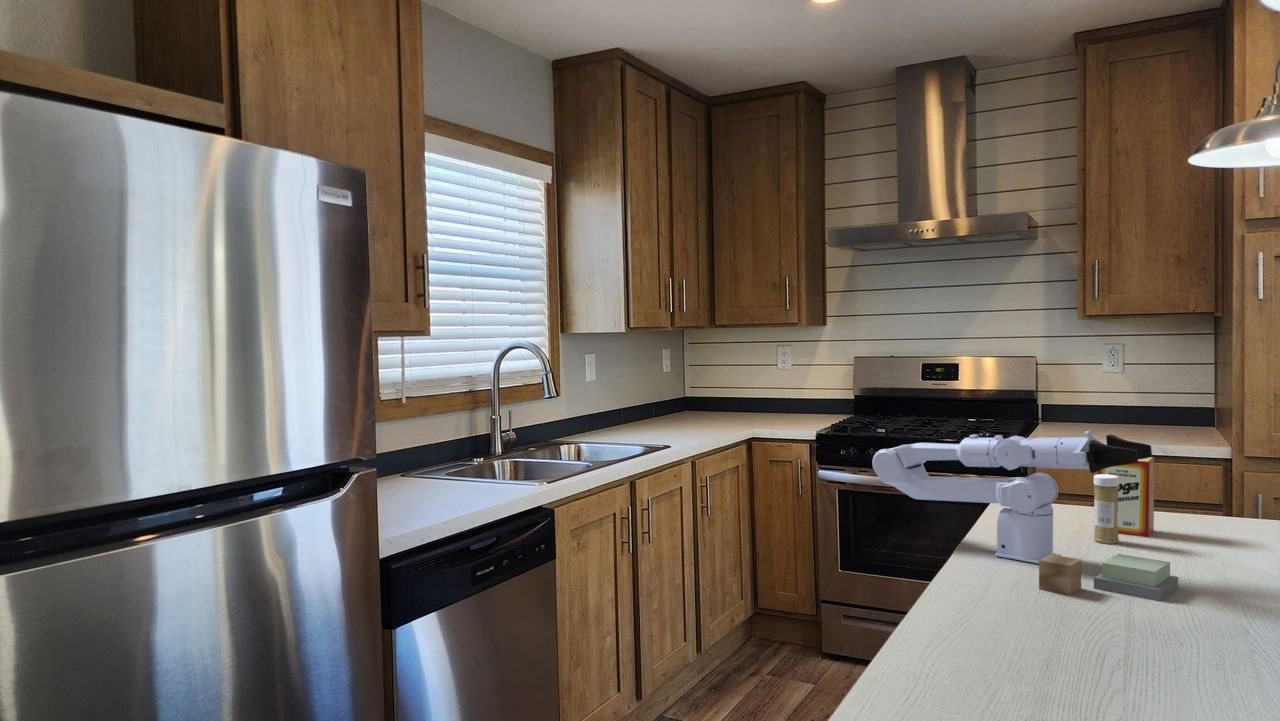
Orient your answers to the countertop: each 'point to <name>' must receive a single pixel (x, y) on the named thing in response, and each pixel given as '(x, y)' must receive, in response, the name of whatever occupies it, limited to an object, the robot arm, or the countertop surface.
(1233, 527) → the countertop surface
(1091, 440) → the robot arm
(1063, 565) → the walnut block
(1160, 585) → the tower base
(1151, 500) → the baking soda box
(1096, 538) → the sprinkles bottle
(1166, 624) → the countertop surface
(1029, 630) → the countertop surface
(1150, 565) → the tower top
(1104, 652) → the countertop surface
